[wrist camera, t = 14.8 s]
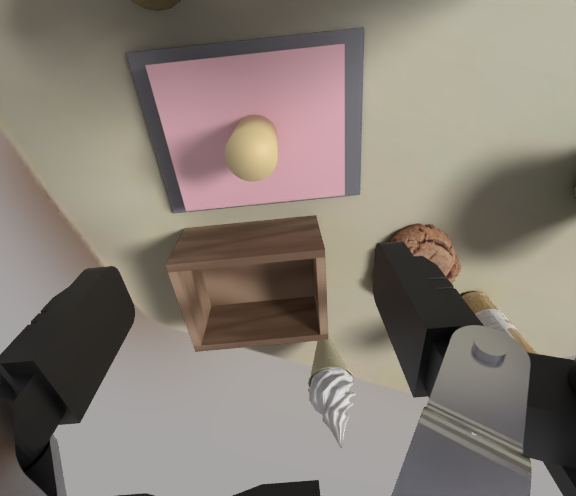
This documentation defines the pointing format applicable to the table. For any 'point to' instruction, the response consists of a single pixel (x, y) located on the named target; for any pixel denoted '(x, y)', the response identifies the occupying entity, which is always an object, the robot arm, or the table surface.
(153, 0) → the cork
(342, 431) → the ice cream cone
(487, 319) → the sprinkles bottle
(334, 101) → the lid
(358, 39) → the mat
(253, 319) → the box
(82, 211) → the table surface
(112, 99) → the table surface
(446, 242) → the cookie
